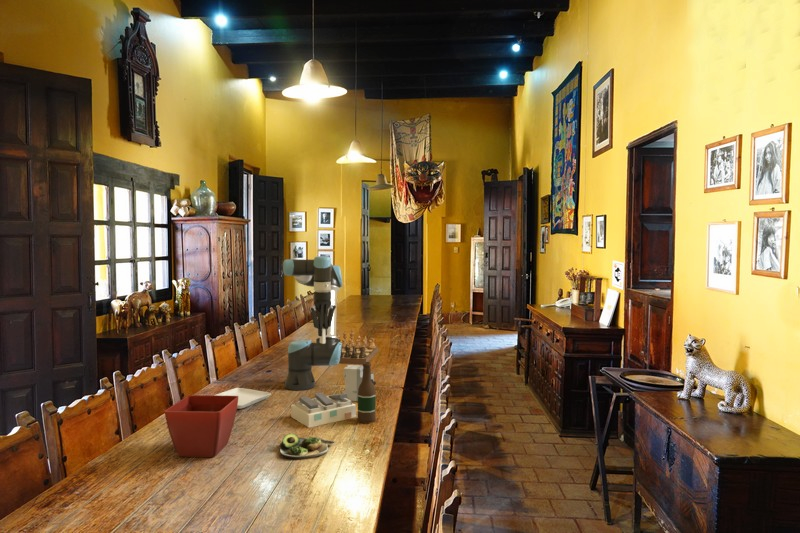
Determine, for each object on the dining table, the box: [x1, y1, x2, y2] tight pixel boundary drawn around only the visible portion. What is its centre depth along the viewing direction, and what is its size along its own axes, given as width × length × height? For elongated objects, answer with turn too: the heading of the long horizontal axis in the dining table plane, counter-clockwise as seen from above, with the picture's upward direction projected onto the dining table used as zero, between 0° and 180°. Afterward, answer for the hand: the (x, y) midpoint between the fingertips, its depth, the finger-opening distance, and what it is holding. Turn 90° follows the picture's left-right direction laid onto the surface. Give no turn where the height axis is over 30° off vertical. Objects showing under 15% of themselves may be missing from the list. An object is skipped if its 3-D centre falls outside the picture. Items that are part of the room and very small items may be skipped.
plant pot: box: [164, 394, 238, 458], centre depth 183 cm, size 19×19×17 cm
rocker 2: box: [314, 391, 333, 406], centre depth 219 cm, size 10×3×2 cm, turn 37°
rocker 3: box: [328, 393, 347, 399], centre depth 223 cm, size 10×3×2 cm, turn 37°
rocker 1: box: [299, 395, 318, 409], centre depth 215 cm, size 10×3×2 cm, turn 37°
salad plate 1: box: [215, 387, 272, 410], centre depth 239 cm, size 21×21×3 cm
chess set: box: [336, 329, 379, 365], centre depth 336 cm, size 40×40×15 cm
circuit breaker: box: [342, 364, 377, 402], centre depth 244 cm, size 8×14×15 cm, turn 78°
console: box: [290, 393, 357, 428], centre depth 219 cm, size 16×22×6 cm
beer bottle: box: [357, 361, 377, 424], centre depth 215 cm, size 8×8×24 cm
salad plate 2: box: [279, 433, 336, 460], centre depth 185 cm, size 19×18×5 cm
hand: (322, 342), depth 236 cm, fingers closed
